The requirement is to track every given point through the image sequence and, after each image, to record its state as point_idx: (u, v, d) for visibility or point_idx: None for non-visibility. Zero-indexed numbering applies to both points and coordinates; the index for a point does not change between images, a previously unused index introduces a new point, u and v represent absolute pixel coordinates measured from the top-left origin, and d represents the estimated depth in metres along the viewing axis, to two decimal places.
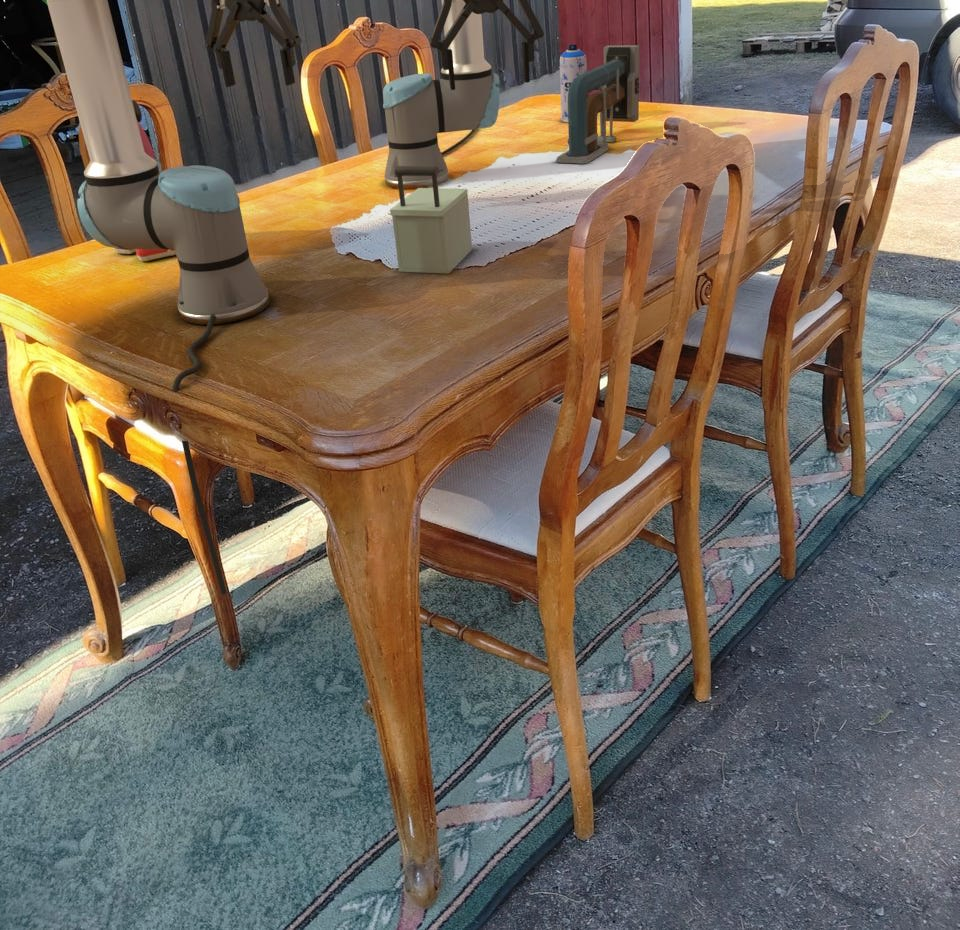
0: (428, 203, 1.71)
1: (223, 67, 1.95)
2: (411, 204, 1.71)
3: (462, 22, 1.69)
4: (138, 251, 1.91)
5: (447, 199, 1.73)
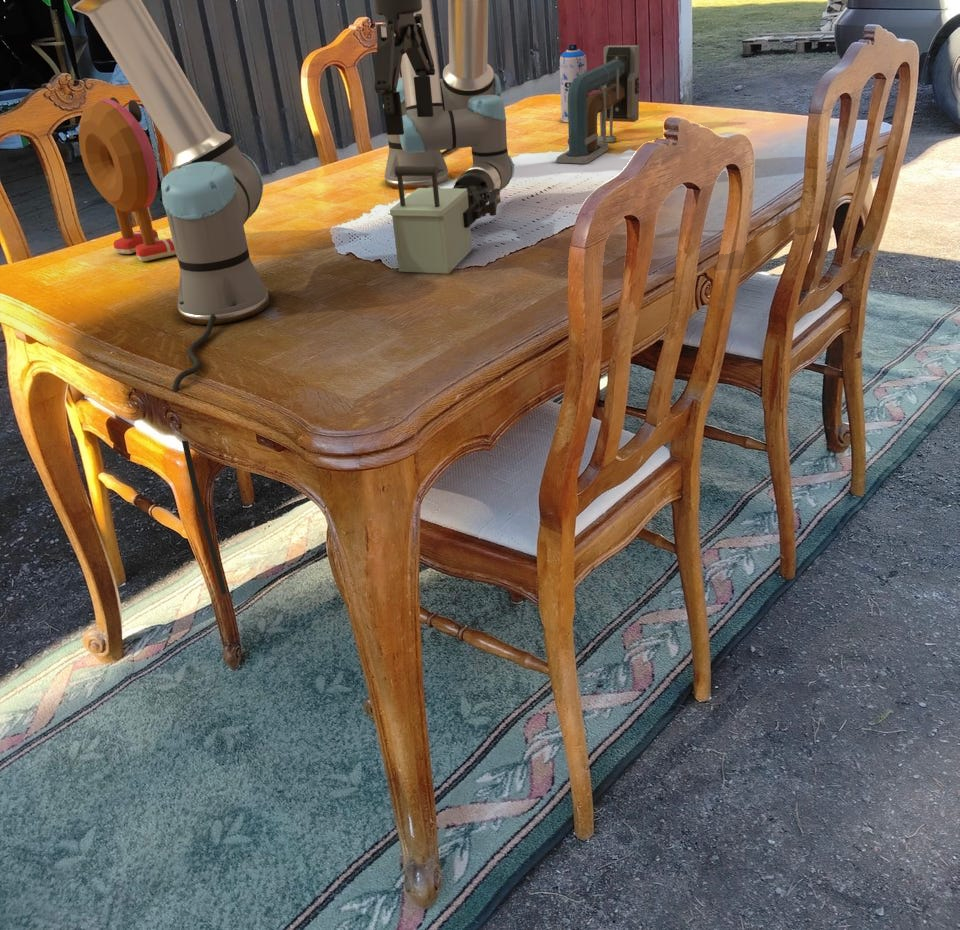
0: (428, 203, 1.71)
1: (400, 110, 1.55)
2: (411, 204, 1.71)
3: None
4: (138, 251, 1.91)
5: (447, 199, 1.73)
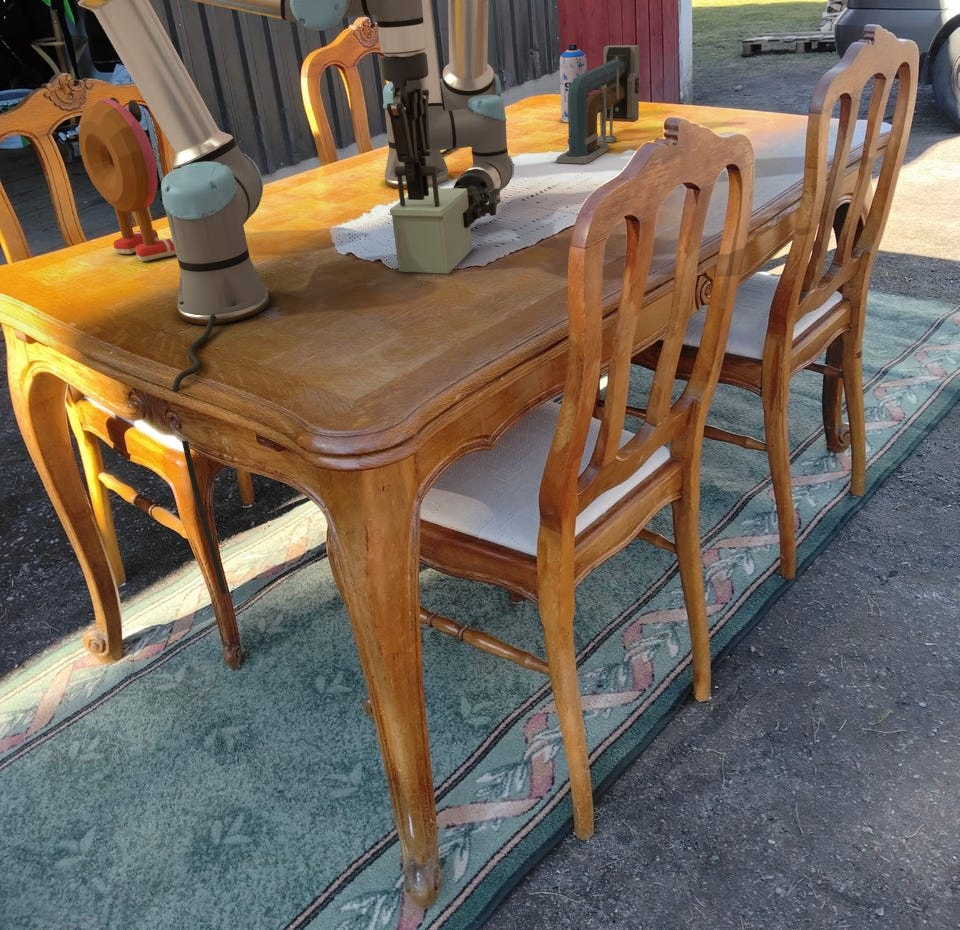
0: (428, 203, 1.71)
1: (421, 177, 1.66)
2: (411, 204, 1.71)
3: None
4: (138, 251, 1.91)
5: (447, 199, 1.73)
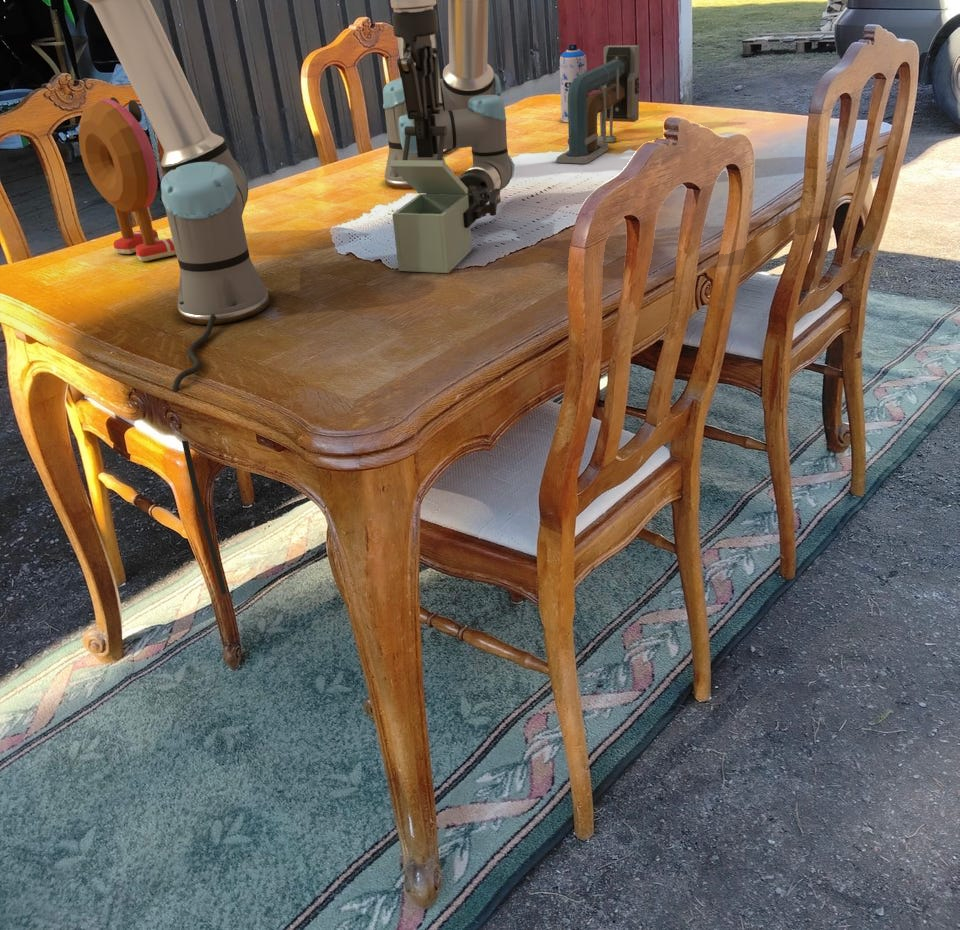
0: None
1: (430, 135, 1.68)
2: None
3: None
4: (138, 251, 1.91)
5: None
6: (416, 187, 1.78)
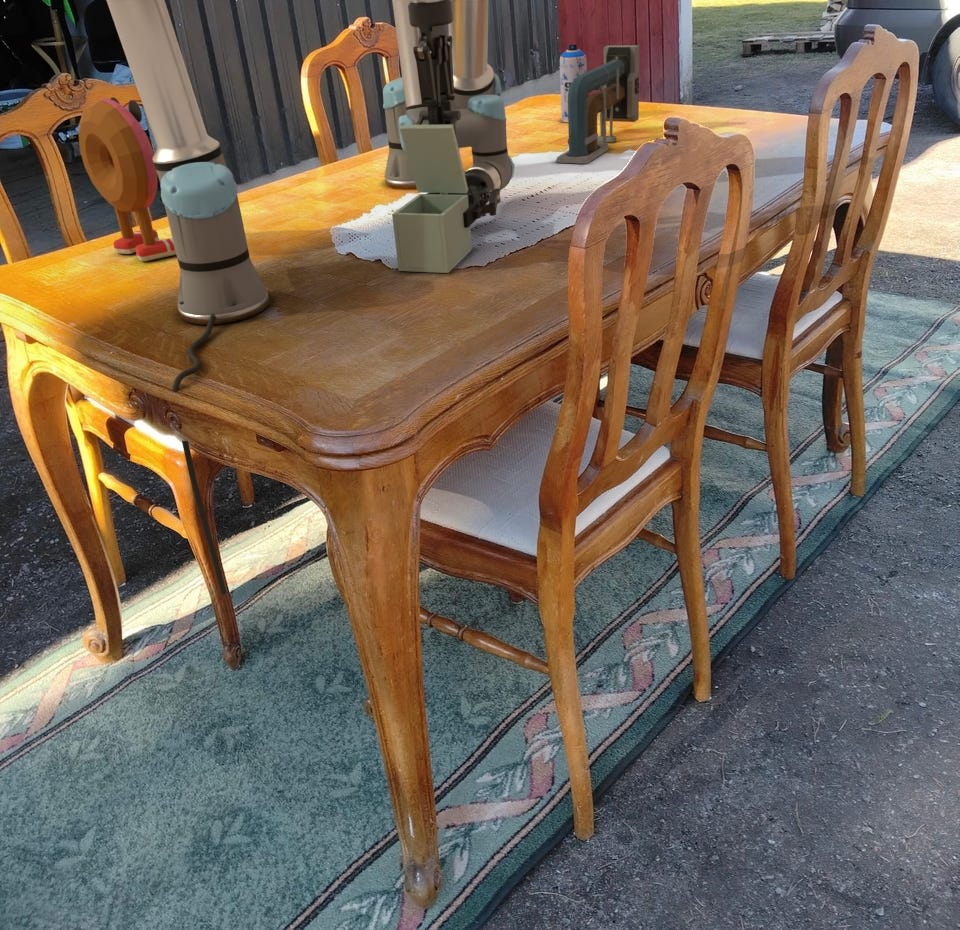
0: None
1: (443, 122, 1.73)
2: None
3: None
4: (138, 251, 1.91)
5: None
6: (418, 178, 1.78)
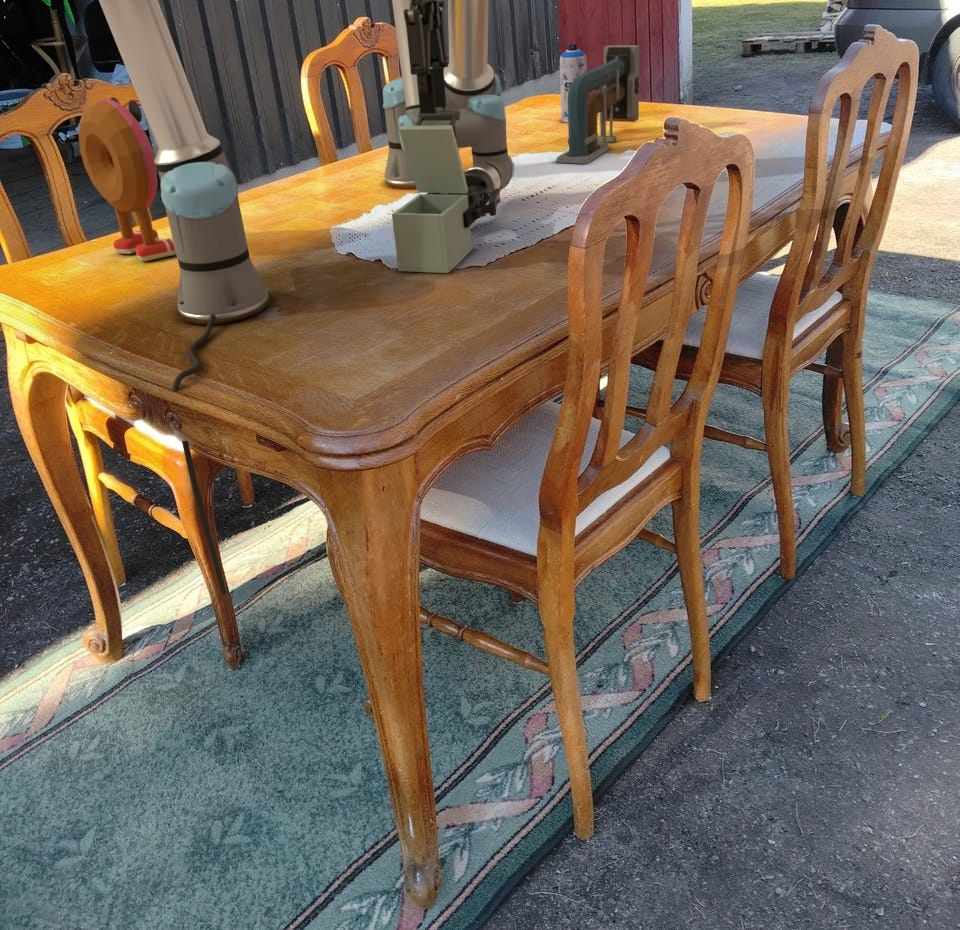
0: None
1: (433, 90, 1.68)
2: None
3: None
4: (138, 251, 1.91)
5: None
6: (418, 178, 1.78)
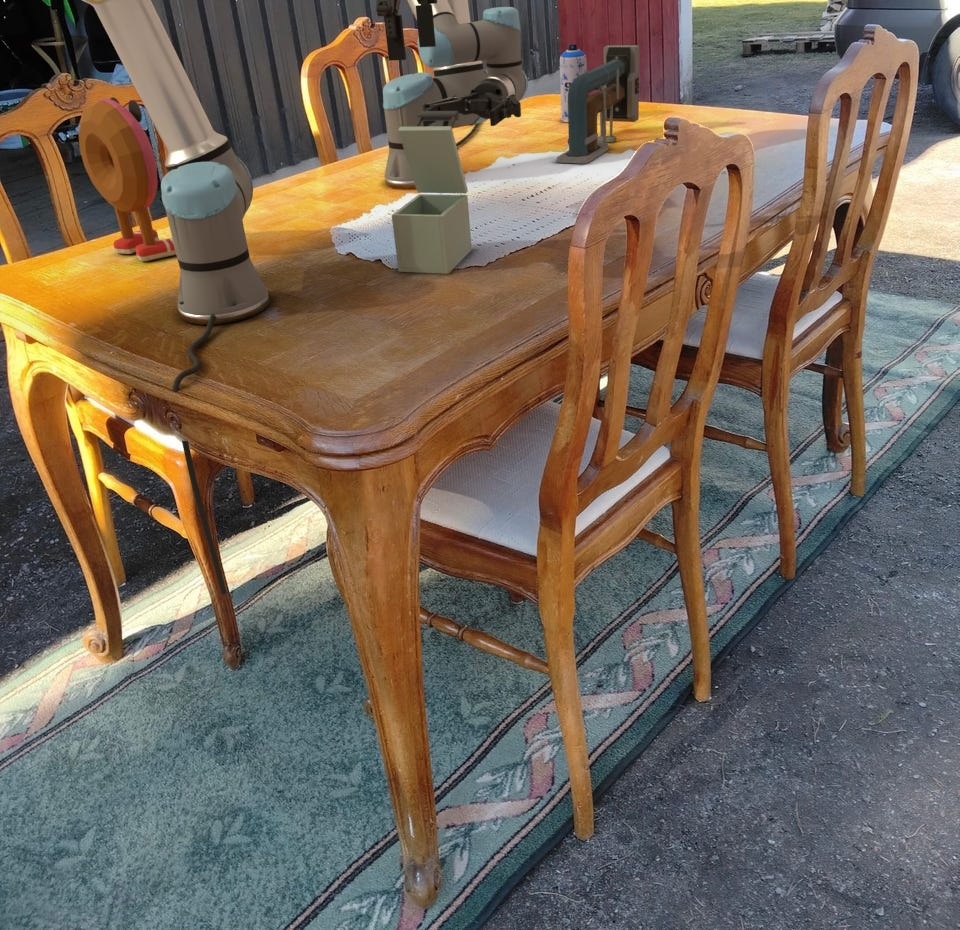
0: None
1: (402, 34, 1.53)
2: None
3: None
4: (138, 251, 1.91)
5: None
6: (417, 179, 1.78)
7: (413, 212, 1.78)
